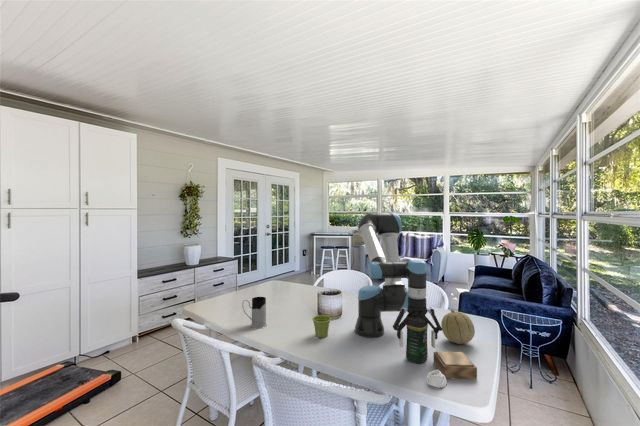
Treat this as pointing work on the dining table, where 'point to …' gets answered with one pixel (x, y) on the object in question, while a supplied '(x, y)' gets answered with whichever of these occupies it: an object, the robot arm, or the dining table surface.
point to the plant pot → (321, 325)
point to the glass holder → (258, 312)
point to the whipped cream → (436, 379)
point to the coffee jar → (416, 339)
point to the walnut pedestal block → (455, 365)
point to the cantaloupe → (457, 327)
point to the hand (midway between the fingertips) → (417, 346)
